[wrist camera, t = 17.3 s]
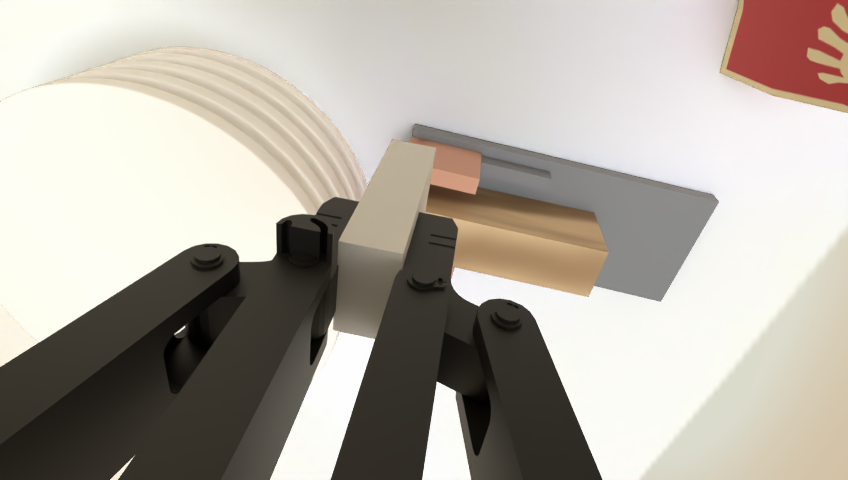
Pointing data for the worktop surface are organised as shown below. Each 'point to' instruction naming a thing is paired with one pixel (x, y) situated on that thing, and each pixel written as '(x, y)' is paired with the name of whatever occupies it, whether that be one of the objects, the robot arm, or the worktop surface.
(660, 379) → the worktop surface
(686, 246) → the rail
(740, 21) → the milk carton
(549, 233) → the oak slat
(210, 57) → the plate stack
